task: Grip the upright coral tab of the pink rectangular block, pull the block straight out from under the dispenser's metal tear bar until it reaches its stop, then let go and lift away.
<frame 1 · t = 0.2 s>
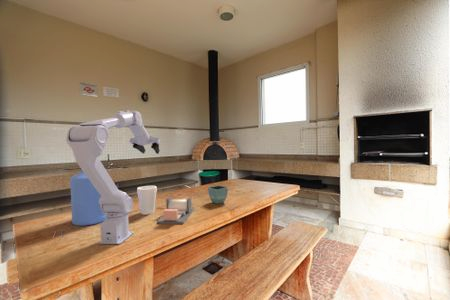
hand: (151, 152, 105), 31 cm above the table, tool tilted 45°, fingers open, 7 cm apart
flower pot: (218, 202, 122), on the table
water jug: (92, 220, 97), on the table
pink rectangular block: (173, 212, 96), point 4 cm above the table, slide at 0.0 cm
foam cup: (147, 212, 106), on the table
dispenser: (176, 217, 99), on the table
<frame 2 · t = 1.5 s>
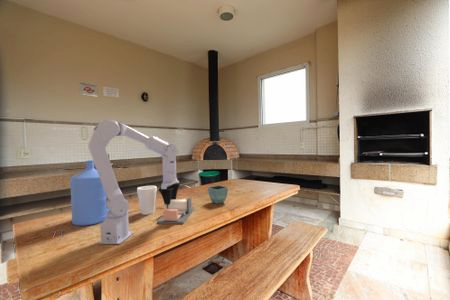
hand: (170, 201, 92), 9 cm above the table, tool pointing down, fingers open, 7 cm apart
nothing on the table moved.
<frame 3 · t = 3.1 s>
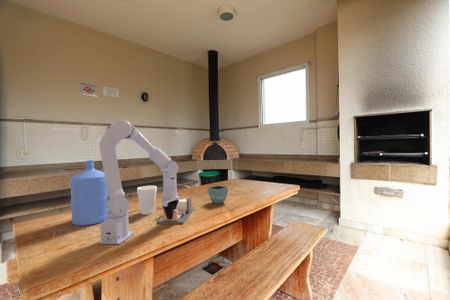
hand: (170, 217, 92), 2 cm above the table, tool pointing down, fingers closed on pink rectangular block, 2 cm apart
pink rectangular block: (173, 212, 96), point 4 cm above the table, slide at 0.0 cm, touching gripper
everything else where it was.
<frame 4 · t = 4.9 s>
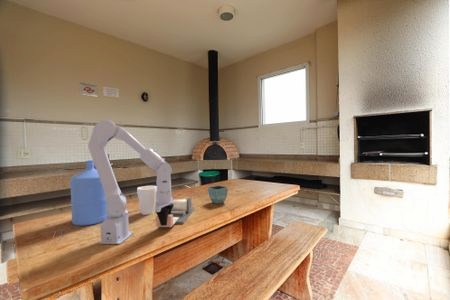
hand: (165, 223, 85), 2 cm above the table, tool pointing down, fingers closed on pink rectangular block, 2 cm apart
pink rectangular block: (168, 217, 89), point 4 cm above the table, slide at 6.8 cm, touching gripper
everything else where it was.
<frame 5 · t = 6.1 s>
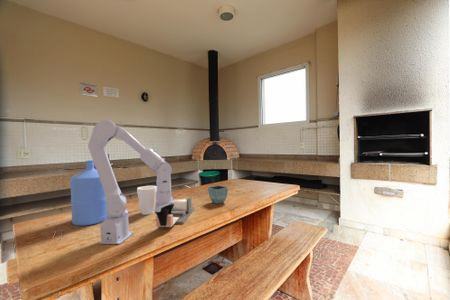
hand: (165, 223, 85), 2 cm above the table, tool pointing down, fingers open, 3 cm apart
pink rectangular block: (168, 217, 89), point 3 cm above the table, slide at 6.8 cm
everything else where it was.
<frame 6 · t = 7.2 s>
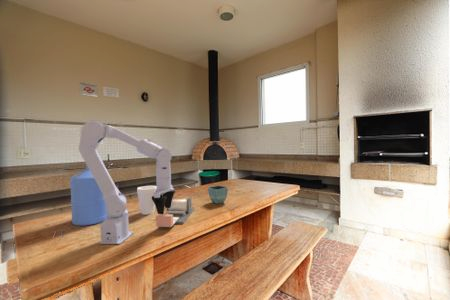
hand: (164, 210, 85), 8 cm above the table, tool pointing down, fingers open, 7 cm apart
nothing on the table moved.
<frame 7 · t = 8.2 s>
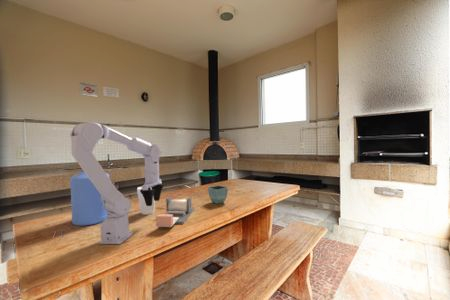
hand: (153, 203, 90), 9 cm above the table, tool pointing down, fingers open, 7 cm apart
nothing on the table moved.
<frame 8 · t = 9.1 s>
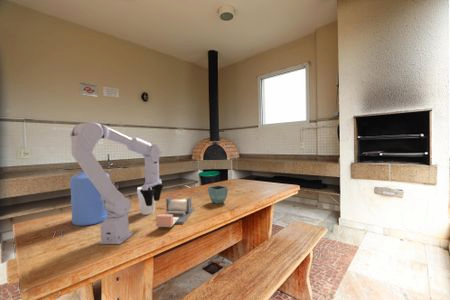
hand: (153, 203, 90), 9 cm above the table, tool pointing down, fingers open, 7 cm apart
nothing on the table moved.
at the end: pink rectangular block slide at 6.8 cm; the gripper is holding nothing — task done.
